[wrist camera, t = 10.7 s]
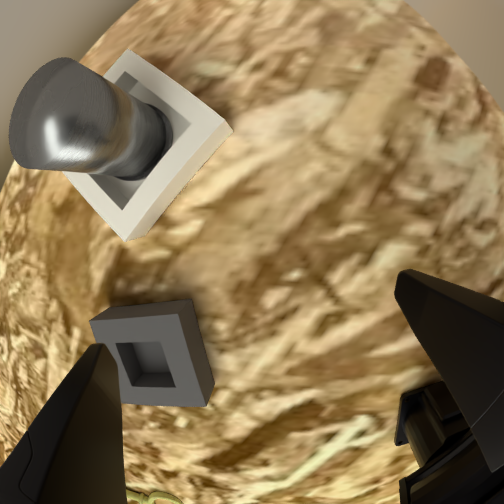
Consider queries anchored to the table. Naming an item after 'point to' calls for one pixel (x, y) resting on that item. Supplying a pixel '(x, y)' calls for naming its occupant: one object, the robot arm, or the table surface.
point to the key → (152, 497)
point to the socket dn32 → (157, 353)
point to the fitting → (85, 125)
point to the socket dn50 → (170, 166)
